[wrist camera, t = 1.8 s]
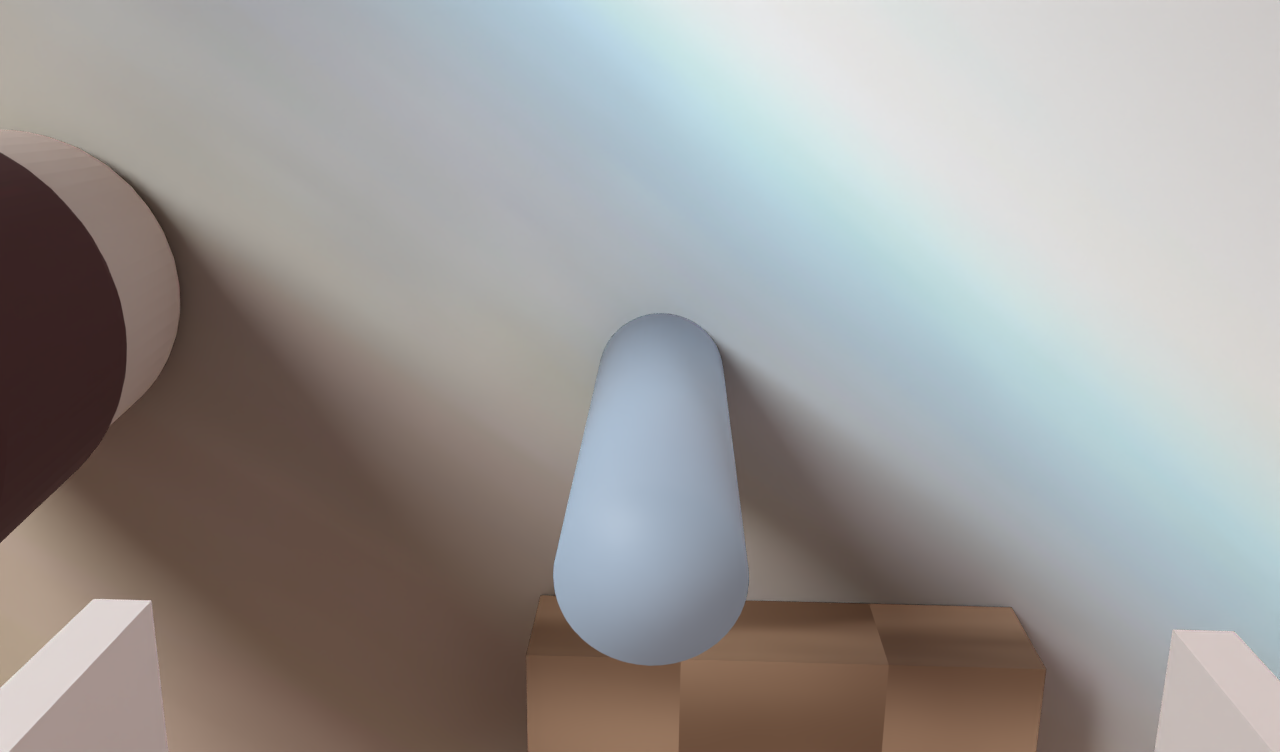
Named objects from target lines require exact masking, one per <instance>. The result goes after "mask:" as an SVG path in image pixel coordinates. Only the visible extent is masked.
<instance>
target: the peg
mask: <svg viewBox="0 0 1280 752" xmlns="http://www.w3.org/2000/svg"><path fill="white" fill-rule="evenodd" d="M553 580H554V589H555V594H556V598H557V601H558V604H559V607H560V609H561V611H562V613H563V615H564V617H565V619H566V620H567V622H568V623H569V625H570V626H571V627H572V629H573V630H574V631H575V632H576V633H577V634H578V635H579V636H580V637H581V638H582V639H583V640H584V641H585V642H586V643H588V644H589V645H590V646H591V647H593V648H595V649H596V650H598V651H599V652H601V653H603V654H605V655H607V656H609V657H611V658H614V659H617V660H620V661H623V662H627V663H632V664H637V665H648V666H654V665H667V664H674V663H678V662H681V661H685V660H688V659H690V658H693V657H695V656H698V655H699V654H701V653H703V652H705V651H707V650H708V649H710V648H711V647H712V646H714V645H715V644H717V643H718V642H719V641H720V640H721V639H722V638H723V637H724V636H725V635H726V634H727V633H728V632H729V631H730V629H731V628H732V627H733V626H734V624H735V622H736V621H737V619H738V617H739V616H740V614H741V611H742V609H743V607H744V604H745V601H746V597H747V593H748V585H749V569H748V561H747V553H746V545H745V537H744V529H743V521H742V513H741V506H740V498H739V490H738V482H737V474H736V466H735V458H734V450H733V442H732V434H731V426H730V418H729V410H728V402H727V394H726V387H725V379H724V371H723V364H722V359H721V356H720V353H719V350H718V348H717V346H716V344H715V343H714V341H713V340H712V338H711V337H710V336H709V335H708V333H707V332H706V331H705V330H703V329H702V328H701V327H700V326H698V325H697V324H695V323H694V322H692V321H690V320H688V319H686V318H683V317H681V316H677V315H672V314H663V313H660V314H650V315H645V316H642V317H638V318H636V319H634V320H632V321H630V322H628V323H627V324H625V325H624V326H622V327H621V328H620V329H619V330H618V331H617V332H616V333H615V334H614V335H613V336H612V337H611V339H610V340H609V342H608V343H607V345H606V347H605V349H604V351H603V354H602V357H601V361H600V365H599V370H598V374H597V378H596V383H595V387H594V391H593V396H592V400H591V404H590V409H589V413H588V417H587V422H586V426H585V431H584V435H583V439H582V444H581V448H580V452H579V457H578V461H577V465H576V470H575V474H574V478H573V483H572V487H571V491H570V496H569V500H568V505H567V509H566V513H565V518H564V522H563V526H562V531H561V535H560V539H559V544H558V548H557V552H556V557H555V562H554V571H553Z"/></svg>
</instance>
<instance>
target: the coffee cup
mask: <svg viewBox="0 0 1280 752" xmlns="http://www.w3.org/2000/svg"><path fill="white" fill-rule="evenodd" d="M179 316H180V286H179V280H178V275H177V270H176V265H175V260H174V257H173V254H172V252H171V249H170V247H169V244H168V242H167V239H166V237H165V234H164V232H163V230H162V228H161V226H160V225H159V223H158V221H157V220H156V218H155V217H154V215H153V213H152V212H151V210H150V209H149V207H148V206H147V205H146V204H145V202H144V201H143V200H142V199H141V198H140V196H139V195H138V194H137V193H136V191H135V190H134V189H133V188H132V187H131V186H130V185H129V184H128V183H127V182H126V181H125V180H124V179H122V178H121V177H120V176H119V175H118V174H117V173H115V172H114V171H113V170H112V169H111V168H110V167H109V166H107V165H106V164H104V163H103V162H101V161H99V160H98V159H96V158H94V157H93V156H91V155H89V154H88V153H86V152H84V151H83V150H81V149H79V148H77V147H75V146H72V145H70V144H67V143H65V142H62V141H59V140H56V139H53V138H51V137H47V136H44V135H39V134H35V133H30V132H24V131H16V130H0V543H1V542H2V541H3V540H4V539H5V538H6V537H7V536H8V535H9V534H10V533H11V532H12V531H13V530H14V529H15V528H16V527H17V526H18V525H20V524H21V523H22V522H23V521H24V520H25V519H26V518H27V517H28V516H29V515H30V514H31V513H32V512H33V511H34V510H35V509H36V508H37V507H38V506H40V505H41V504H42V503H43V502H44V501H45V500H46V499H47V498H48V497H49V496H50V495H51V494H52V493H53V492H54V491H55V490H56V489H57V488H58V487H60V486H61V485H62V484H63V483H64V482H65V481H66V480H67V479H68V478H69V477H70V476H71V475H72V474H73V473H74V472H75V471H76V470H77V469H78V468H79V467H80V466H81V465H82V464H83V463H84V462H85V461H86V460H87V458H88V457H89V456H90V455H91V453H92V452H93V451H94V450H95V448H96V447H97V446H98V445H99V443H100V441H101V440H102V438H103V437H104V435H105V433H106V432H107V430H108V428H109V426H110V425H111V424H112V423H113V422H114V421H116V420H117V419H118V418H119V417H120V416H121V415H122V414H123V413H124V412H125V411H126V410H128V409H129V408H130V407H131V406H132V405H133V404H134V403H135V402H136V401H137V400H139V398H140V397H141V396H142V395H143V394H144V393H145V392H146V391H147V390H148V389H149V388H150V387H151V385H152V384H153V383H154V382H155V380H156V379H157V377H158V376H159V374H160V373H161V371H162V369H163V367H164V365H165V363H166V361H167V360H168V358H169V355H170V352H171V349H172V347H173V344H174V341H175V338H176V335H177V329H178V323H179Z"/></svg>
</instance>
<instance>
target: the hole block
mask: <svg viewBox="0 0 1280 752" xmlns="http://www.w3.org/2000/svg"><path fill="white" fill-rule="evenodd" d="M1045 675H1046V668H1045V666H1044V664H1043V663H1042V661H1041V659H1040V657H1039V656H1038V654H1037V652H1036V650H1035V648H1034V647H1033V645H1032V643H1031V641H1030V639H1029V638H1028V636H1027V634H1026V632H1025V631H1024V629H1023V627H1022V625H1021V623H1020V622H1019V620H1018V618H1017V616H1016V615H1015V613H1014V611H1013V609H1012V607H978V606H939V605H900V604H861V603H822V602H782V601H745V604H744V607H743V609H742V611H741V614H740V616H739V617H738V619H737V621H736V622H735V624H734V626H733V627H732V628H731V629H730V631H729V632H728V633H727V634H726V635H725V636H724V637H723V638H722V639H721V640H720V641H719V642H718V643H717V644H715V645H714V646H712V647H711V648H710V649H708V650H707V651H705V652H703V653H701V654H699V655H698V656H695V657H693V658H690V659H688V660H685V661H681V662H678V663H674V664H667V665H654V666H648V665H637V664H632V663H627V662H623V661H620V660H617V659H614V658H611V657H609V656H607V655H605V654H603V653H601V652H599V651H598V650H596V649H595V648H593V647H591V646H590V645H589V644H588V643H586V642H585V641H584V640H583V639H582V638H581V637H580V636H579V635H578V634H577V633H576V632H575V631H574V630H573V629H572V627H571V626H570V625H569V623H568V622H567V620H566V619H565V617H564V615H563V613H562V611H561V609H560V607H559V604H558V601H557V598H556V596H547V595H540V599H539V603H538V608H537V612H536V616H535V620H534V624H533V628H532V633H531V637H530V641H529V645H528V649H527V653H526V682H527V738H528V752H1036V747H1037V739H1038V731H1039V723H1040V715H1041V707H1042V699H1043V691H1044V683H1045Z"/></svg>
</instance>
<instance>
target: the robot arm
mask: <svg viewBox="0 0 1280 752" xmlns="http://www.w3.org/2000/svg"><path fill="white" fill-rule="evenodd" d="M0 752H168V744H167V735H166V726H165V717H164V708H163V699H162V690H161V681H160V672H159V663H158V655H157V646H156V637H155V628H154V619H153V610H152V601H151V600H116V599H93V600H92V601H91V602H90V603H89V604H88V605H87V606H86V607H85V608H83V609H82V610H81V611H80V612H79V613H78V614H77V615H76V616H75V617H74V618H73V619H72V620H71V621H70V622H69V623H68V624H67V625H66V626H65V627H64V628H63V629H61V630H60V631H59V632H58V633H57V634H56V635H55V636H54V637H53V638H52V639H51V640H50V641H49V642H48V643H47V644H46V645H45V646H44V647H43V648H42V649H41V650H39V651H38V652H37V653H36V654H35V655H34V656H33V657H32V658H31V659H30V660H29V661H28V662H27V663H26V664H25V665H24V666H23V667H22V668H21V669H20V670H18V671H17V672H16V673H15V674H14V675H13V676H12V677H11V678H10V679H9V680H8V681H7V682H6V683H5V684H4V685H3V686H2V687H1V688H0ZM1154 752H1280V681H1279V680H1278V678H1277V677H1276V676H1275V675H1274V674H1273V673H1272V672H1271V671H1270V670H1269V669H1268V668H1267V666H1266V665H1265V664H1264V663H1263V662H1262V661H1261V660H1260V659H1259V658H1258V657H1257V656H1256V655H1255V653H1254V652H1253V651H1252V650H1251V649H1250V648H1249V647H1248V646H1247V645H1246V644H1245V643H1244V641H1243V640H1242V639H1241V638H1240V637H1239V636H1238V635H1237V634H1236V633H1235V632H1234V631H1209V630H1173V631H1172V638H1171V645H1170V651H1169V658H1168V664H1167V671H1166V678H1165V684H1164V691H1163V698H1162V704H1161V711H1160V718H1159V724H1158V731H1157V737H1156V744H1155V751H1154Z"/></svg>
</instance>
